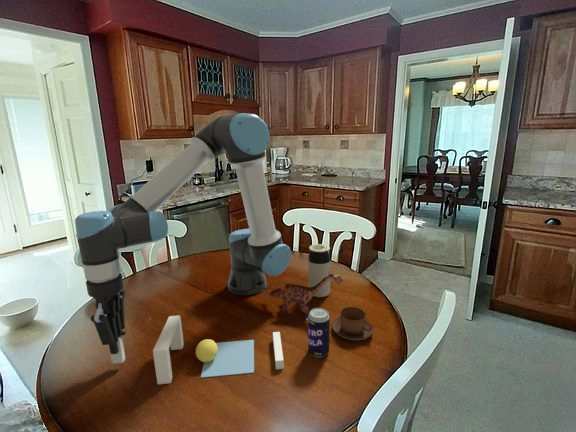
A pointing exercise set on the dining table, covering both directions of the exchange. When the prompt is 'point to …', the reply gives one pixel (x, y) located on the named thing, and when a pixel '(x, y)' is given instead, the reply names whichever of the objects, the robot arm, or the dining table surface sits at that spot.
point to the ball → (206, 350)
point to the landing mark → (231, 359)
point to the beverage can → (318, 332)
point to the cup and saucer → (352, 324)
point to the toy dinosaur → (301, 293)
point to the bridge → (167, 348)
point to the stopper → (278, 351)
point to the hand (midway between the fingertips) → (118, 360)
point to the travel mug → (319, 268)
